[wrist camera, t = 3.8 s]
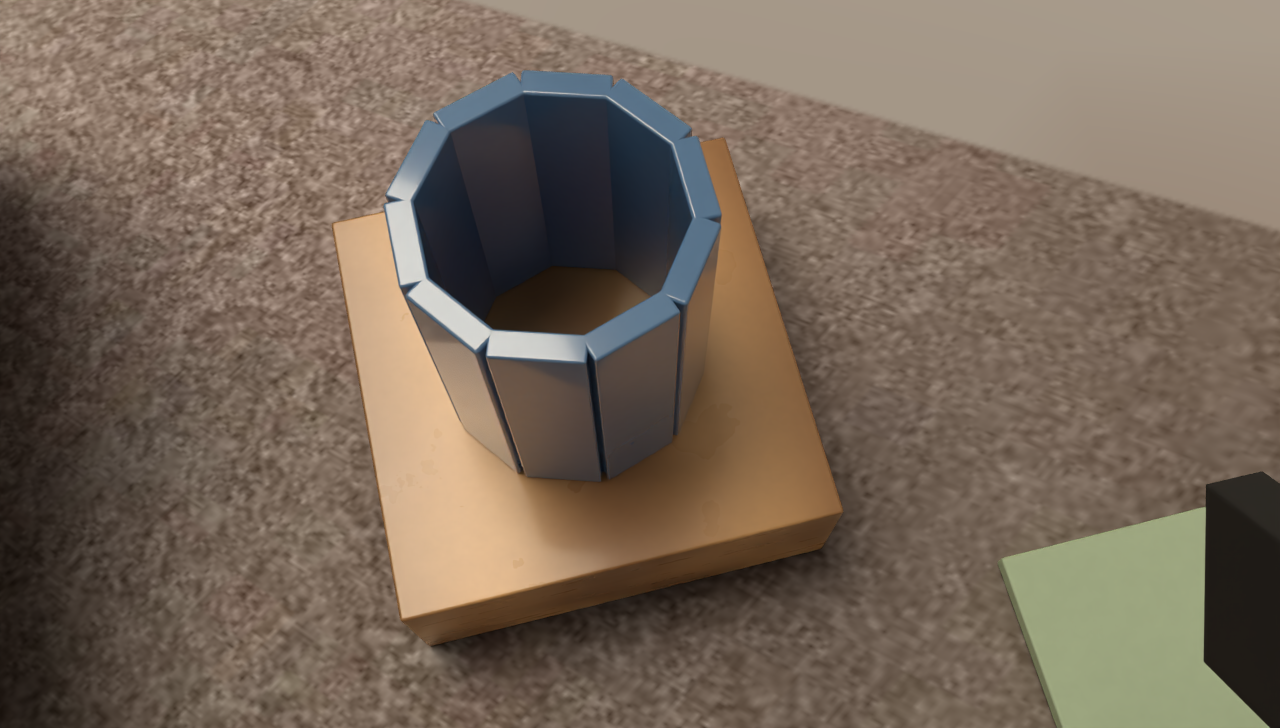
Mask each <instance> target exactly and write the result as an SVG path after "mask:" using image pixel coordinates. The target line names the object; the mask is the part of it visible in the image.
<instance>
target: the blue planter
mask: <svg viewBox="0 0 1280 728" xmlns="http://www.w3.org/2000/svg"><path fill="white" fill-rule="evenodd" d="M433 116H434V120H435V122H432V121H429V120H426V121H425V123H424V124H423V126H422V128H421V130H420V132H419V134H418V135H417V137H416V139H415V141H414V143H413V144H412V146H411V148H410V150H409V152H408V154H407V155H406V157H405V159H404V161H403V163H402V165H401V166H400V168H399V170H398V172H397V174H396V176H395V177H394V179H393V181H392V183H391V185H390V187H389V188H388V190H387V192H386V195H385V196H386V199H387V201H388V203H385V204H384V206H383V207H384V212H385V217H386V223H387V228H388V233H389V238H390V243H391V249H392V254H393V259H394V264H395V269H396V274H397V280H398V285H399V288H400V290H401V292H402V295H403V297H404V299H405V301H406V303H407V306H408V308H409V310H410V312H411V315H412V317H413V319H414V321H415V323H416V326H417V328H418V330H419V332H420V335H421V337H422V339H423V341H424V344H425V346H426V348H427V350H428V352H429V355H430V357H431V359H432V361H433V364H434V366H435V368H436V370H437V372H438V375H439V377H440V379H441V381H442V384H443V386H444V388H445V390H446V392H447V395H448V397H449V399H450V401H451V404H452V406H453V408H454V410H455V412H456V415H457V417H458V419H459V421H461V422H462V425H463V427H464V429H465V430H466V431H467V432H469V433H470V434H471V435H472V436H473V437H475V438H476V439H477V440H478V441H479V442H481V443H482V444H483V445H484V446H485V447H487V448H488V449H489V450H490V451H491V452H493V453H494V454H495V455H496V456H497V457H499V458H500V459H501V460H502V461H503V462H505V463H506V464H507V465H508V466H509V467H511V468H512V469H513V470H514V471H515V472H517V473H520V472H521V471H522V470H524V473H525V476H526V477H532V478H547V479H562V480H577V481H592V482H601V481H602V473H604V474H605V476H606V477H607V479H612V478H613V477H615V476H617V475H618V474H620V473H622V472H623V471H625V470H627V469H628V468H630V467H632V466H633V465H635V464H637V463H638V462H640V461H642V460H643V459H645V458H647V457H648V456H650V455H652V454H653V453H655V452H657V451H658V450H660V449H662V448H663V447H665V446H667V445H668V444H670V443H672V441H673V435H678V434H679V432H680V430H681V427H682V425H683V422H684V420H685V418H686V415H687V413H688V410H689V408H690V406H691V403H692V401H693V398H694V396H695V393H696V391H697V389H698V386H699V384H700V381H701V379H702V377H703V374H704V368H705V360H706V352H707V343H708V335H709V327H710V318H711V310H712V302H713V293H714V285H715V276H716V268H717V260H718V251H719V243H720V235H721V218H722V212H721V209H720V205H719V202H718V199H717V196H716V192H715V189H714V186H713V183H712V180H711V176H710V173H709V170H708V167H707V163H706V160H705V157H704V154H703V150H702V147H701V144H700V141H699V138H698V137H697V136H692V128H691V127H690V126H689V125H687V124H686V123H684V122H683V121H681V120H680V119H679V118H677V117H676V116H674V115H673V114H672V113H670V112H669V111H667V110H666V109H665V108H663V107H662V106H660V105H659V104H657V103H656V102H655V101H653V100H652V99H650V98H649V97H648V96H646V95H645V94H643V93H642V92H641V91H639V90H638V89H636V88H635V87H634V86H632V85H631V84H629V83H628V82H626V81H625V80H624V79H620V80H619V81H618V82H617V83H616V84H615V85H614V80H613V76H611V75H601V74H583V73H566V72H548V71H530V70H524V71H522V73H521V80H520V81H519V79H518V78H517V76H516V75H515V74H514V73H513V72H512V73H510V74H508V75H506V76H504V77H502V78H500V79H498V80H496V81H494V82H492V83H490V84H488V85H486V86H484V87H482V88H481V89H479V90H477V91H475V92H473V93H471V94H469V95H467V96H465V97H463V98H461V99H459V100H457V101H455V102H453V103H452V104H450V105H448V106H446V107H444V108H442V109H440V110H438V111H436V112H434V113H433ZM551 266H560V267H577V268H593V269H609V270H617V271H618V272H619V273H621V274H622V275H623V276H624V277H626V278H627V279H628V280H630V281H631V282H632V283H634V284H635V285H636V286H638V287H639V288H640V289H642V290H643V291H644V292H646V293H647V294H648V295H649V296H651V297H650V298H648V299H646V300H644V301H643V302H641V303H639V304H637V305H636V306H634V307H632V308H630V309H629V310H627V311H625V312H623V313H622V314H620V315H618V316H616V317H615V318H613V319H611V320H609V321H608V322H606V323H604V324H602V325H601V326H599V327H597V328H595V329H594V330H592V331H590V332H588V333H587V334H585V335H576V334H560V333H544V332H528V331H512V330H496V329H493V328H492V327H490V326H489V325H488V324H487V323H485V322H484V321H485V319H486V317H487V315H488V313H489V311H490V309H491V307H492V305H493V303H494V301H495V299H496V297H497V296H499V295H501V294H503V293H505V292H506V291H508V290H510V289H512V288H514V287H515V286H517V285H519V284H521V283H523V282H524V281H526V280H528V279H530V278H532V277H533V276H535V275H537V274H539V273H541V272H542V271H544V270H546V269H548V268H550V267H551Z"/></svg>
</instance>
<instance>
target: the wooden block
mask: <svg viewBox="0 0 1280 728" xmlns="http://www.w3.org/2000/svg"><path fill="white" fill-rule="evenodd" d="M700 144H701V147H702V150H703V154H704V157H705V160H706V163H707V167H708V170H709V173H710V176H711V180H712V183H713V186H714V189H715V192H716V196H717V199H718V202H719V205H720V209H721V212H722V218H721V235H720V243H719V251H718V260H717V268H716V276H715V285H714V293H713V302H712V310H711V318H710V327H709V335H708V343H707V352H706V360H705V368H704V374H703V377H702V379H701V381H700V384H699V386H698V389H697V391H696V393H695V396H694V398H693V401H692V403H691V406H690V408H689V410H688V413H687V415H686V418H685V420H684V422H683V425H682V427H681V430H680V432H679V434H678V435H673V441H672V443H670V444H668V445H667V446H665V447H663V448H662V449H660V450H658V451H657V452H655V453H653V454H652V455H650V456H648V457H647V458H645V459H643V460H642V461H640V462H638V463H637V464H635V465H633V466H632V467H630V468H628V469H627V470H625V471H623V472H622V473H620V474H618V475H617V476H615V477H613V478H612V479H607V477H606V476H605V474H604V473H602V481H601V482H592V481H577V480H562V479H547V478H532V477H526V476H525V473H524V470H522V471H521V472H520V473H517V472H515V471H514V470H513V469H512V468H511V467H509V466H508V465H507V464H506V463H505V462H503V461H502V460H501V459H500V458H499V457H497V456H496V455H495V454H494V453H493V452H491V451H490V450H489V449H488V448H487V447H485V446H484V445H483V444H482V443H481V442H479V441H478V440H477V439H476V438H475V437H473V436H472V435H471V434H470V433H469V432H467V431H466V430H465V429H464V427H463V425H462V422H461V421H459V419H458V417H457V415H456V412H455V410H454V408H453V406H452V404H451V401H450V399H449V397H448V395H447V392H446V390H445V388H444V386H443V384H442V381H441V379H440V377H439V375H438V372H437V370H436V368H435V366H434V364H433V361H432V359H431V357H430V355H429V352H428V350H427V348H426V346H425V344H424V341H423V339H422V337H421V335H420V332H419V330H418V328H417V326H416V323H415V321H414V319H413V317H412V315H411V312H410V310H409V308H408V306H407V303H406V301H405V299H404V297H403V295H402V292H401V290H400V288H399V285H398V280H397V274H396V269H395V264H394V259H393V254H392V249H391V243H390V238H389V233H388V228H387V223H386V217H385V212H380V213H376V214H371V215H366V216H362V217H357V218H353V219H348V220H344V221H339V222H334V223H332V230H333V236H334V242H335V247H336V253H337V259H338V265H339V270H340V276H341V282H342V288H343V293H344V299H345V305H346V311H347V316H348V322H349V328H350V333H351V339H352V345H353V351H354V356H355V362H356V368H357V374H358V379H359V385H360V391H361V397H362V402H363V408H364V414H365V420H366V425H367V431H368V437H369V443H370V448H371V454H372V460H373V466H374V471H375V477H376V483H377V489H378V494H379V500H380V506H381V511H382V517H383V523H384V529H385V534H386V540H387V546H388V552H389V557H390V563H391V569H392V575H393V580H394V586H395V592H396V598H397V603H398V609H399V615H400V620H401V621H402V622H403V623H404V624H405V625H406V626H407V627H408V628H410V629H411V630H412V631H413V632H414V633H415V634H416V635H417V636H419V637H420V638H421V639H422V640H423V641H424V642H425V643H426V644H428V645H429V646H433V645H437V644H441V643H445V642H449V641H453V640H457V639H461V638H465V637H469V636H473V635H477V634H481V633H485V632H489V631H493V630H497V629H501V628H505V627H509V626H513V625H517V624H521V623H525V622H529V621H533V620H537V619H541V618H545V617H550V616H554V615H558V614H562V613H566V612H570V611H574V610H578V609H582V608H586V607H590V606H594V605H598V604H602V603H606V602H610V601H614V600H618V599H622V598H626V597H630V596H634V595H638V594H642V593H646V592H650V591H654V590H658V589H662V588H666V587H670V586H674V585H678V584H682V583H686V582H690V581H694V580H698V579H702V578H706V577H710V576H714V575H718V574H722V573H726V572H730V571H734V570H738V569H742V568H746V567H750V566H754V565H758V564H762V563H766V562H770V561H774V560H778V559H782V558H786V557H790V556H794V555H798V554H802V553H806V552H810V551H814V550H818V549H821V548H822V547H823V545H824V544H825V542H826V540H827V538H828V537H829V535H830V533H831V532H832V530H833V528H834V527H835V525H836V523H837V522H838V520H839V518H840V517H841V515H842V513H843V508H842V504H841V501H840V498H839V495H838V492H837V489H836V486H835V482H834V479H833V476H832V473H831V470H830V467H829V464H828V460H827V457H826V454H825V451H824V448H823V445H822V442H821V438H820V435H819V432H818V429H817V426H816V423H815V420H814V416H813V413H812V410H811V407H810V404H809V401H808V398H807V394H806V391H805V388H804V385H803V382H802V379H801V376H800V373H799V369H798V366H797V363H796V360H795V357H794V354H793V351H792V347H791V344H790V341H789V338H788V335H787V332H786V329H785V325H784V322H783V319H782V316H781V313H780V310H779V307H778V303H777V300H776V297H775V294H774V291H773V288H772V285H771V281H770V278H769V275H768V272H767V269H766V266H765V263H764V259H763V256H762V253H761V250H760V247H759V244H758V241H757V237H756V234H755V231H754V228H753V225H752V222H751V219H750V215H749V212H748V209H747V206H746V203H745V200H744V197H743V193H742V190H741V187H740V184H739V181H738V178H737V175H736V171H735V168H734V165H733V162H732V159H731V156H730V153H729V149H728V146H727V143H726V140H725V138H719V139H714V140H710V141H705V142H700ZM650 297H651V296H649V295H648V294H647V293H646V292H644V291H643V290H642V289H640V288H639V287H638V286H636V285H635V284H634V283H632V282H631V281H630V280H628V279H627V278H626V277H624V276H623V275H622V274H621V273H619V272H618V271H617V270H609V269H593V268H577V267H560V266H551V267H550V268H548V269H546V270H544V271H542V272H541V273H539V274H537V275H535V276H533V277H532V278H530V279H528V280H526V281H524V282H523V283H521V284H519V285H517V286H515V287H514V288H512V289H510V290H508V291H506V292H505V293H503V294H501V295H499V296H497V297H496V299H495V301H494V303H493V305H492V307H491V309H490V311H489V313H488V315H487V317H486V319H485V321H484V322H485V323H487V324H488V325H489V326H490V327H492V328H493V329H496V330H512V331H528V332H544V333H560V334H576V335H585V334H587V333H588V332H590V331H592V330H594V329H595V328H597V327H599V326H601V325H602V324H604V323H606V322H608V321H609V320H611V319H613V318H615V317H616V316H618V315H620V314H622V313H623V312H625V311H627V310H629V309H630V308H632V307H634V306H636V305H637V304H639V303H641V302H643V301H644V300H646V299H648V298H650Z"/></svg>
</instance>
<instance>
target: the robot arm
mask: <svg viewBox="0 0 1280 728" xmlns="http://www.w3.org/2000/svg"><path fill="white" fill-rule="evenodd" d="M1204 663H1205V664H1206V665H1207V666H1208V667H1209V668H1210V669H1211V670H1212V671H1213V672H1214V673H1215V674H1216V675H1217V676H1218V677H1219V678H1220V679H1221V680H1222V681H1223V682H1224V683H1225V684H1226V685H1227V686H1228V687H1229V688H1230V689H1231V690H1232V691H1233V692H1234V693H1235V694H1236V695H1237V696H1238V697H1239V698H1240V699H1241V700H1242V701H1243V702H1244V703H1245V704H1246V705H1247V706H1248V707H1249V708H1250V709H1251V710H1252V711H1253V712H1254V713H1255V714H1256V715H1257V716H1258V717H1259V718H1260V719H1261V720H1262V721H1263V722H1265V723H1266V724H1267V725H1268V726H1269V727H1270V728H1280V483H1278V482H1277V481H1275V480H1274V479H1272V478H1271V477H1269V476H1268V475H1267V474H1265V473H1264V472H1258V473H1253V474H1249V475H1245V476H1241V477H1236V478H1232V479H1228V480H1224V481H1219V482H1215V483H1211V484H1206V527H1205V595H1204Z"/></svg>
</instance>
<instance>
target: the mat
mask: <svg viewBox="0 0 1280 728" xmlns="http://www.w3.org/2000/svg"><path fill="white" fill-rule="evenodd" d="M1205 527H1206V507H1202V508H1198V509H1194V510H1190V511H1186V512H1182V513H1178V514H1174V515H1170V516H1166V517H1163V518H1159V519H1155V520H1151V521H1147V522H1143V523H1139V524H1135V525H1131V526H1127V527H1123V528H1119V529H1115V530H1111V531H1107V532H1103V533H1099V534H1095V535H1091V536H1088V537H1084V538H1080V539H1076V540H1072V541H1068V542H1064V543H1060V544H1056V545H1052V546H1048V547H1044V548H1040V549H1036V550H1032V551H1028V552H1024V553H1020V554H1017V555H1013V556H1009V557H1005V558H1002V559H1001V560H1000V561H998V566H999V569H1000V571H1001V574H1002V577H1003V580H1004V583H1005V585H1006V588H1007V591H1008V594H1009V596H1010V599H1011V602H1012V605H1013V607H1014V610H1015V613H1016V616H1017V619H1018V621H1019V624H1020V627H1021V630H1022V632H1023V635H1024V638H1025V641H1026V644H1027V646H1028V649H1029V652H1030V655H1031V657H1032V660H1033V663H1034V666H1035V669H1036V671H1037V674H1038V677H1039V680H1040V682H1041V685H1042V688H1043V691H1044V693H1045V696H1046V699H1047V702H1048V705H1049V707H1050V710H1051V713H1052V716H1053V718H1054V721H1055V724H1056V727H1057V728H1270V727H1269V726H1268V725H1267V724H1266V723H1265V722H1263V721H1262V720H1261V719H1260V718H1259V717H1258V716H1257V715H1256V714H1255V713H1254V712H1253V711H1252V710H1251V709H1250V708H1249V707H1248V706H1247V705H1246V704H1245V703H1244V702H1243V701H1242V700H1241V699H1240V698H1239V697H1238V696H1237V695H1236V694H1235V693H1234V692H1233V691H1232V690H1231V689H1230V688H1229V687H1228V686H1227V685H1226V684H1225V683H1224V682H1223V681H1222V680H1221V679H1220V678H1219V677H1218V676H1217V675H1216V674H1215V673H1214V672H1213V671H1212V670H1211V669H1210V668H1209V667H1208V666H1207V665H1206V664H1205V663H1204V595H1205Z"/></svg>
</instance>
